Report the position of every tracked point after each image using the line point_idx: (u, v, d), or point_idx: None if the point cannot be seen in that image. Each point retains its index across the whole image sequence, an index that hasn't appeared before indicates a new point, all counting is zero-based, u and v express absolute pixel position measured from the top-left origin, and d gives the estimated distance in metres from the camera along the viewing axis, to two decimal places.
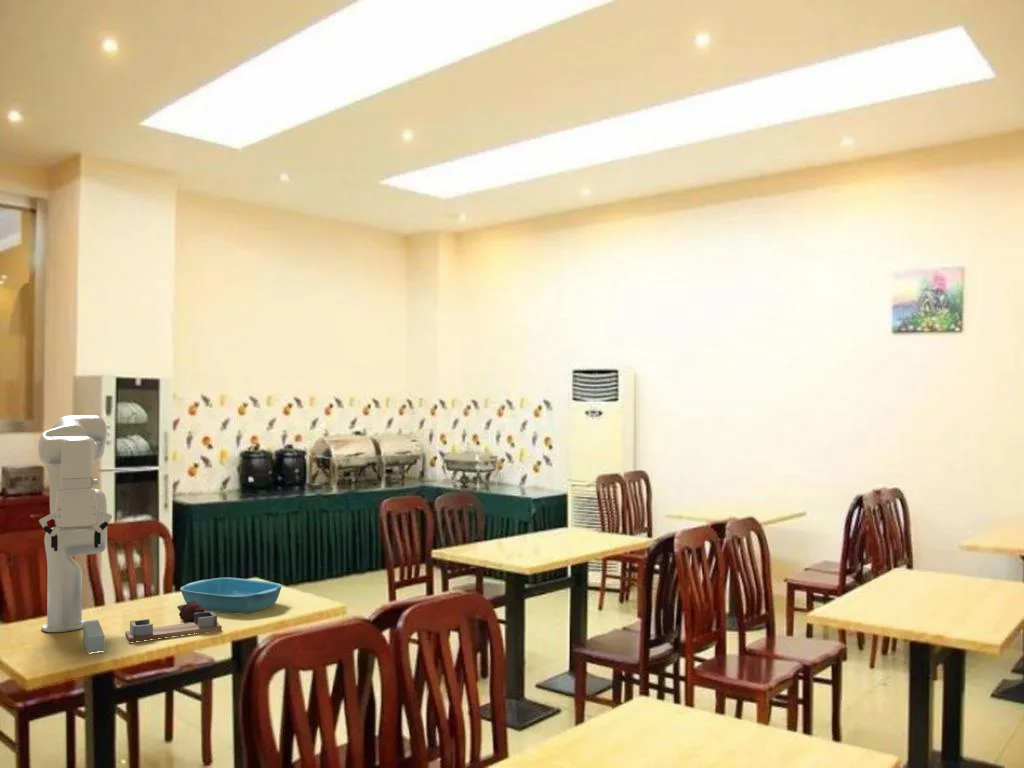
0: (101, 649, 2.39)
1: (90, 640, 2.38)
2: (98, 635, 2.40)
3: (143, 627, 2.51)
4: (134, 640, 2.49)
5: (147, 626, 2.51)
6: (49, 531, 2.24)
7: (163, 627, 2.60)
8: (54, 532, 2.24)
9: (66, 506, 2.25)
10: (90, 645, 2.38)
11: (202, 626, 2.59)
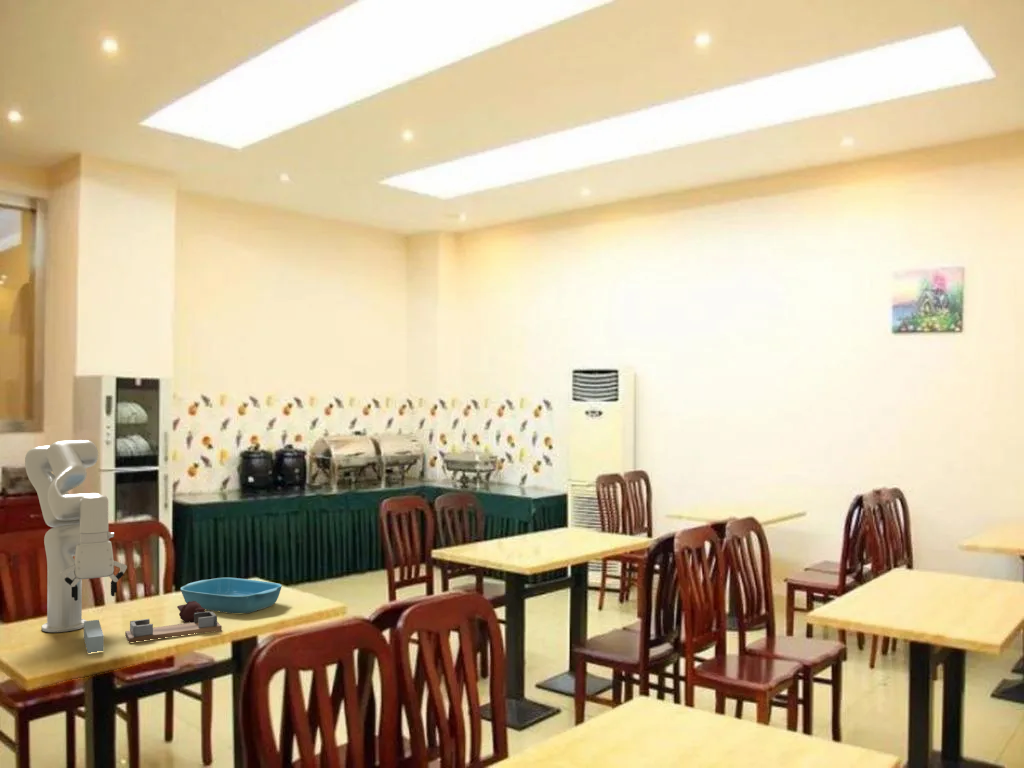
0: (100, 649, 2.39)
1: (89, 640, 2.38)
2: (97, 635, 2.40)
3: (143, 627, 2.51)
4: (134, 640, 2.49)
5: (147, 626, 2.51)
6: (70, 582, 2.43)
7: (163, 627, 2.60)
8: (74, 583, 2.44)
9: (85, 559, 2.44)
10: (89, 645, 2.38)
11: (202, 626, 2.59)
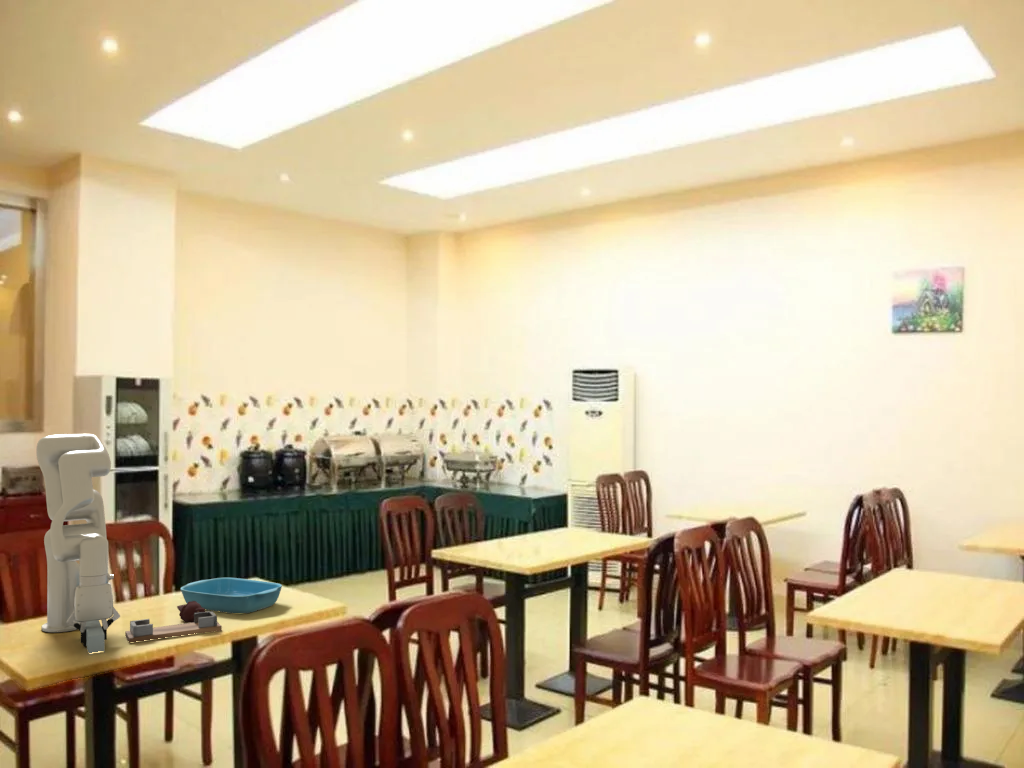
0: (101, 648, 2.39)
1: (90, 639, 2.38)
2: (98, 634, 2.40)
3: (143, 627, 2.51)
4: (134, 640, 2.49)
5: (147, 626, 2.51)
6: (78, 629, 2.45)
7: (163, 627, 2.60)
8: (82, 628, 2.45)
9: (84, 601, 2.44)
10: (90, 644, 2.38)
11: (202, 626, 2.59)
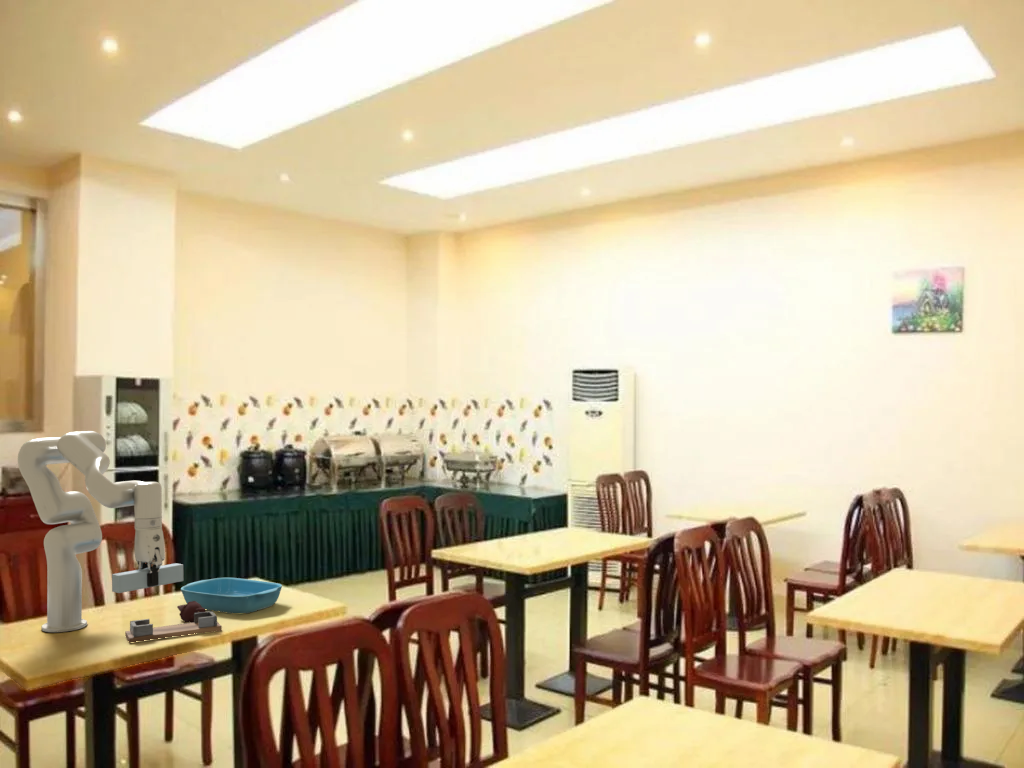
0: (117, 588, 2.46)
1: (112, 577, 2.48)
2: (119, 574, 2.48)
3: (143, 627, 2.51)
4: (134, 640, 2.49)
5: (147, 626, 2.51)
6: (139, 567, 2.57)
7: (163, 627, 2.60)
8: (139, 567, 2.56)
9: (136, 542, 2.55)
10: (112, 582, 2.48)
11: (202, 626, 2.59)
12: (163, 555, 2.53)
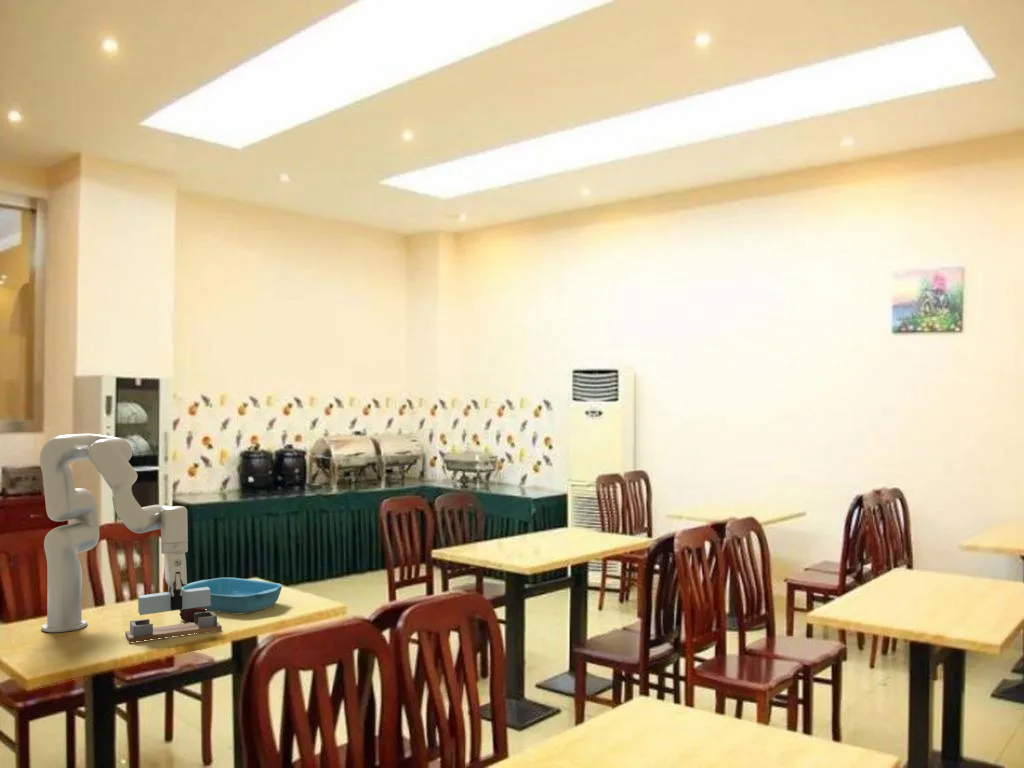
0: (139, 610, 2.53)
1: (138, 598, 2.55)
2: (142, 596, 2.54)
3: (143, 627, 2.51)
4: (134, 640, 2.49)
5: (147, 626, 2.51)
6: None
7: (163, 627, 2.60)
8: (168, 589, 2.61)
9: None
10: (138, 603, 2.55)
11: (202, 626, 2.59)
12: (184, 580, 2.56)
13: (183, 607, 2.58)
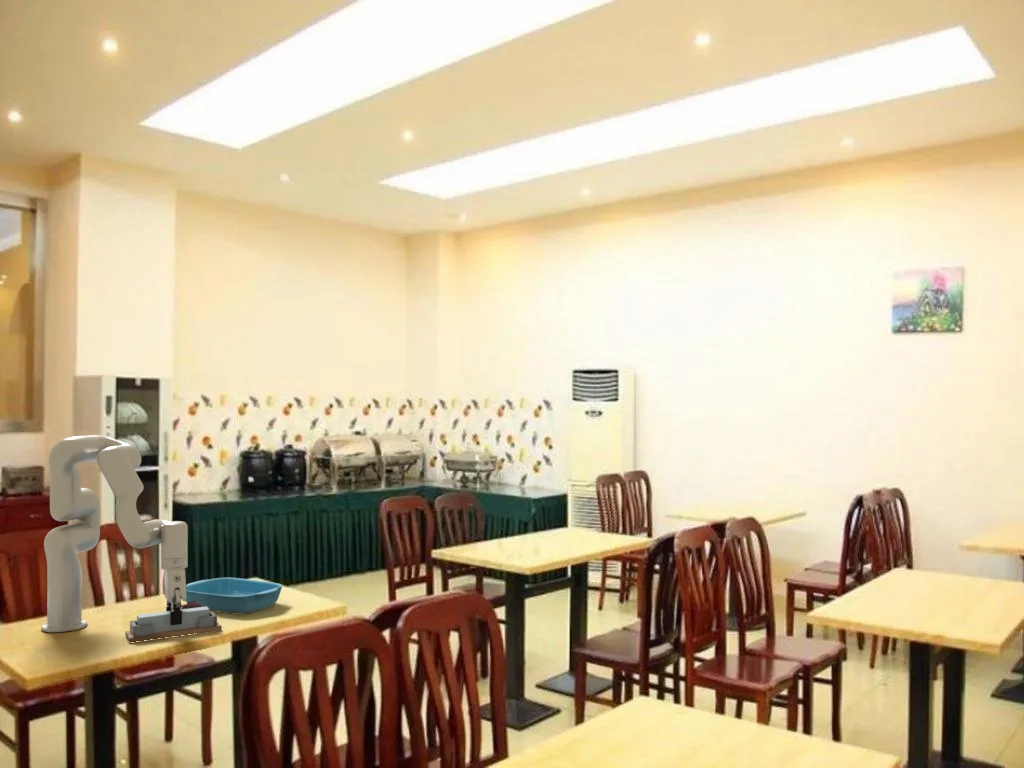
0: None
1: (137, 618, 2.55)
2: (141, 616, 2.54)
3: (143, 627, 2.51)
4: (134, 640, 2.49)
5: (147, 626, 2.51)
6: None
7: None
8: (167, 602, 2.62)
9: (164, 579, 2.60)
10: (137, 622, 2.55)
11: (202, 626, 2.59)
12: (184, 596, 2.56)
13: (182, 627, 2.58)
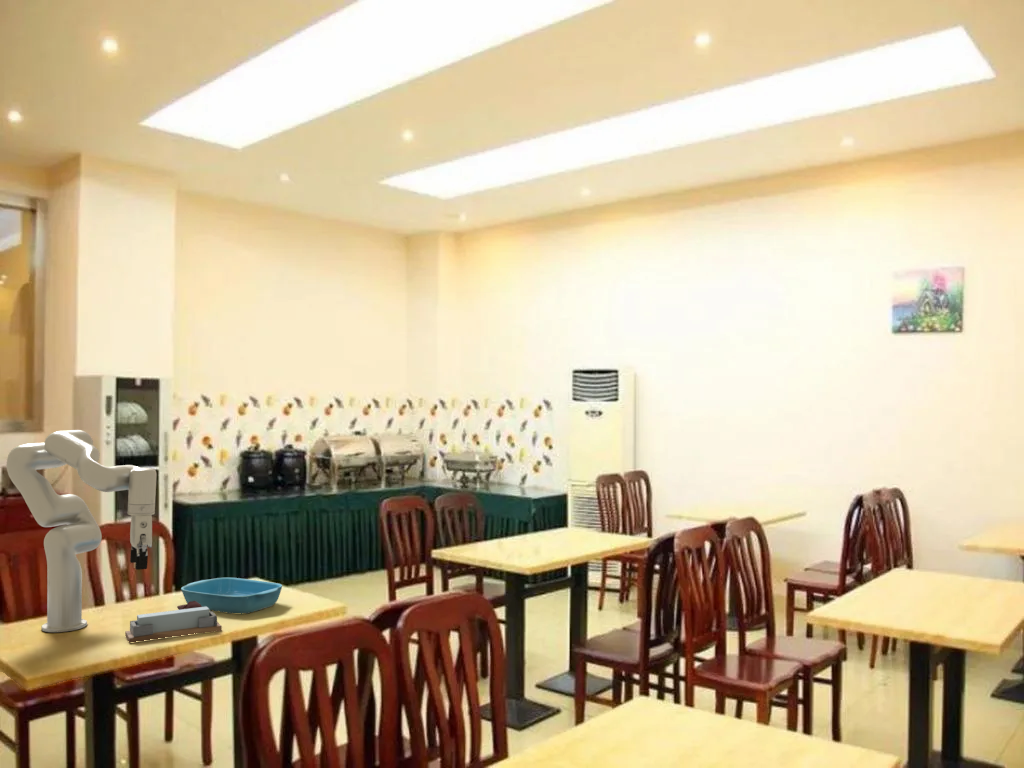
0: None
1: (137, 618, 2.55)
2: (141, 616, 2.54)
3: (143, 627, 2.51)
4: (134, 640, 2.49)
5: (147, 626, 2.51)
6: None
7: None
8: (132, 546, 2.61)
9: None
10: (137, 622, 2.55)
11: (202, 626, 2.59)
12: (149, 542, 2.54)
13: (182, 627, 2.58)
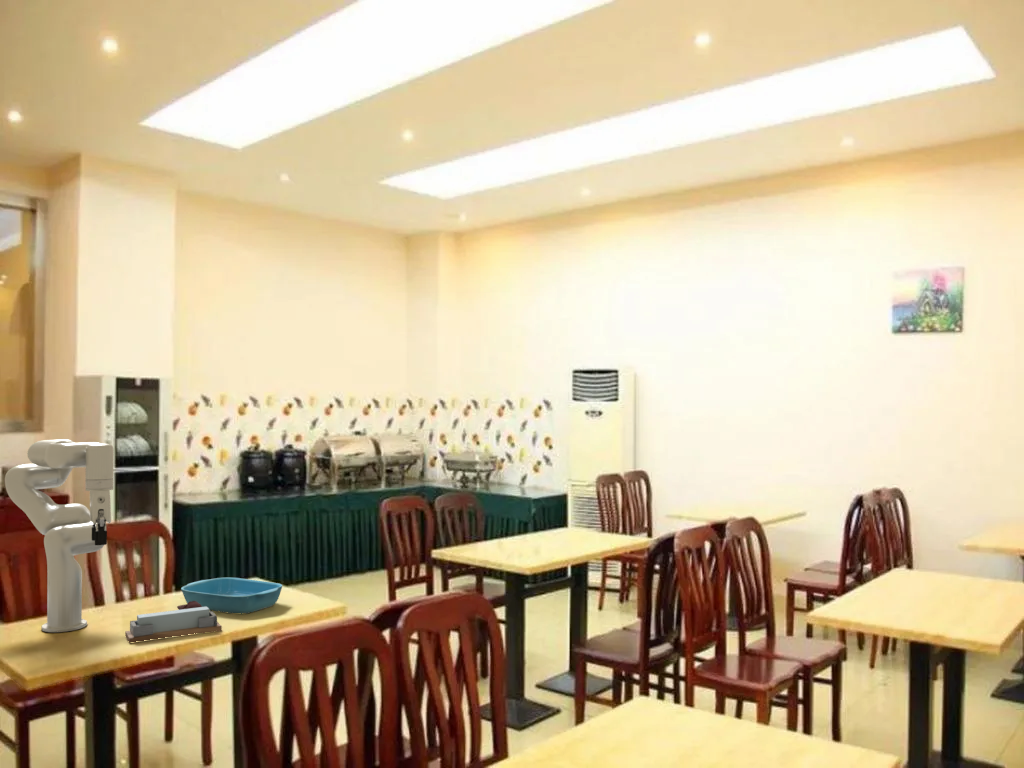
0: None
1: (137, 618, 2.55)
2: (141, 616, 2.54)
3: (143, 627, 2.51)
4: (134, 640, 2.49)
5: (147, 626, 2.51)
6: None
7: None
8: (92, 524, 2.59)
9: None
10: (137, 622, 2.55)
11: (202, 626, 2.59)
12: (108, 517, 2.52)
13: (182, 627, 2.58)
